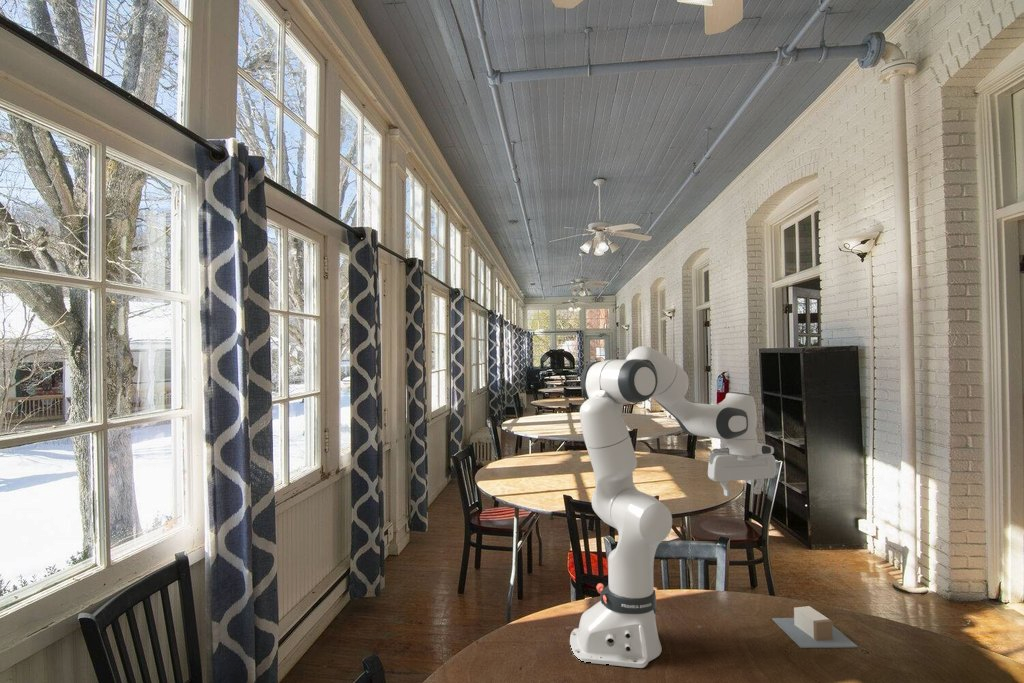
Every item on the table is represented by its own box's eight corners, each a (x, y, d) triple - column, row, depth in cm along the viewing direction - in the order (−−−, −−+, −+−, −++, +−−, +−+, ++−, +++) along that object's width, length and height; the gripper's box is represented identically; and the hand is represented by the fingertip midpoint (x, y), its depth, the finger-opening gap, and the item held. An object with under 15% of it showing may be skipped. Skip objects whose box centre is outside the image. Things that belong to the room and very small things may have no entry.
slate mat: (800, 648, 128) (800, 646, 128) (772, 619, 142) (772, 618, 142) (857, 647, 128) (857, 646, 128) (823, 618, 142) (823, 617, 142)
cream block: (794, 624, 138) (816, 640, 130) (794, 607, 138) (816, 622, 130) (809, 623, 139) (832, 639, 131) (809, 606, 139) (832, 621, 131)
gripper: (714, 450, 148) (715, 499, 148) (779, 447, 152) (780, 495, 151) (702, 447, 154) (704, 494, 154) (764, 444, 158) (766, 490, 157)
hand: (742, 494), depth 153 cm, fingers open, 8 cm apart
